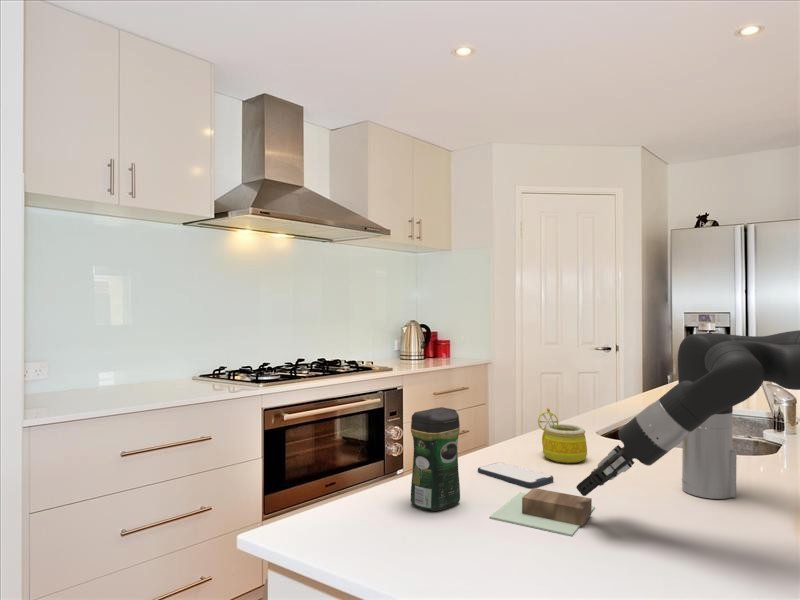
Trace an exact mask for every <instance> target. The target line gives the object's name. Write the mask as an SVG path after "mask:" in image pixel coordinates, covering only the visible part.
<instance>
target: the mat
mask: <svg viewBox="0 0 800 600" xmlns="http://www.w3.org/2000/svg"><path fill="white" fill-rule="evenodd" d="M526 494H527V493H526V492H519V493H518V494H515V496H514V497H512V498H511V499H510V500H509V501H507V502H506V503H505V504H504V505H502V506H501V507H499V508H498V509H497V510H496V511H495V512H493V513H492V514H491V515H490V516H489V519H491V520H496V521H500V522H505V523H510V524H515V525H519V526H523V527H528V528H532V529H537V530H543V531H547V532H552V533H556V534H560V535H565V536H568V537H573V536H574V535H575V533H576V532H577V531H578V530H579V529H580V527H581V526H580V525H575V524H570V523H565V522H560V521H556V520H551V519H546V518H541V517H536V516H532V515H527V514H522V497H523V496H524V495H526ZM595 509H596V506H595V505H592V509H591V513H593V511H594V510H595Z"/></svg>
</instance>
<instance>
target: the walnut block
mask: <svg viewBox="0 0 800 600" xmlns="http://www.w3.org/2000/svg"><path fill="white" fill-rule="evenodd" d="M592 499H593V498H591V497H586V496H582V495H576V494H575V495H574V494H570V493H563V492H558V491H553V490H547V489H544V488H543V489H542V488H538V487H537V488H533V489H530V490H529V491H528V492H527V493H526V495H524V496H523V497H522V514H527V515H532V516H536V517H541V518H546V519H551V520H556V521H560V522H565V523H570V524H575V525H580V527H583V526H584V525H585V523H586V522H587V521H588V520H589V518H590V517H591V516H592V512H591V509H592V506H593V505H592Z"/></svg>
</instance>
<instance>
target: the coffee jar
mask: <svg viewBox="0 0 800 600" xmlns="http://www.w3.org/2000/svg"><path fill="white" fill-rule="evenodd" d="M460 425H461V424H460V415H459V413H458V412H457V410H456V409H453V408H448V407H443V406H442V407H434V408H430V409H425V410H420V411H415V412H414V413H413V414H412V415H411V423H410V433H411V436H412V440H413V459H412V461H413V462H412V475H411V487H410V502H411V505H413V506H414V507H416V508H418V509H419V510H424V511H426V510H427V511H433V512H436V511H441V510H444V509H447V508H450V507H453V506H455V505H457V504H458V503H459V502H460V500H461V487H460V475H459V457H458V455H459V454H458V453H459V452H458V442H459V435H460V428H461V427H460Z"/></svg>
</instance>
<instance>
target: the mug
mask: <svg viewBox="0 0 800 600" xmlns="http://www.w3.org/2000/svg"><path fill="white" fill-rule="evenodd" d="M550 411H551V410H550V408H549V407H548V408H546V411H545V412H542V413H541V414H540V415H539V416H538V420H537V423H538V427H539V428H540V429H541V430H542V436H541V444H542V453H543V455H544V457H545V458H547V459H548V460H551V461H553V462H556V463H557V462H558V463H564V464H575V463H581V462H582V461H584V460H586V458H587V456H588V447H587V446H588V445H587V439H586V435H585V433H586V430H585V429H584V428H583V427H581V426H578V425H574V424H567V423H559V418H558V416H556V414H554V413H553V412H550ZM545 414H548V415H549V418H547V417H546V415H545ZM542 416H543V418H544V419H545V420H546V421H543V420H540V418H541V417H542ZM553 416H554V418H555V419H556V420H554V419H553ZM550 420H551V421H550ZM542 423H546V424H545V426H544V427H542V426H541V424H542ZM551 423H552V424H551Z"/></svg>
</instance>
